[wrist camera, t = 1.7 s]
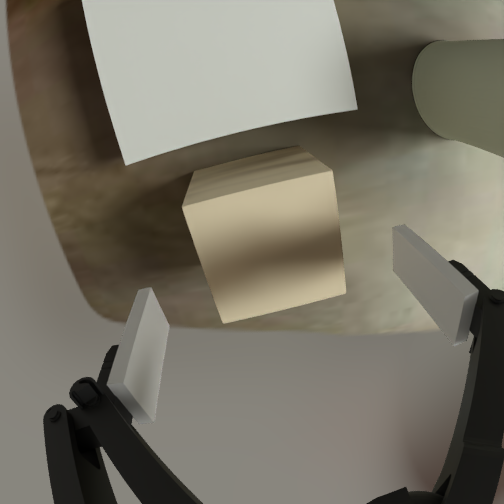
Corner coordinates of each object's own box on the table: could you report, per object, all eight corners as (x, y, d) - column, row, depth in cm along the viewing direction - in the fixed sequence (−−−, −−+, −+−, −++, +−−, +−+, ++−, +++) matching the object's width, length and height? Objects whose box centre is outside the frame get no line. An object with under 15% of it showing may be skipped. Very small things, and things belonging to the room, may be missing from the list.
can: (405, 129, 23) (510, 168, 12) (413, 26, 19) (520, 11, 8) (479, 148, 24) (574, 190, 13) (488, 59, 20) (586, 71, 9)
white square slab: (96, -17, 15) (76, -32, 12) (291, -64, 15) (303, -86, 11) (140, 153, 22) (125, 165, 19) (337, 106, 22) (357, 109, 18)
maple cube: (194, 170, 23) (181, 207, 16) (298, 145, 23) (332, 170, 16) (222, 261, 27) (223, 323, 20) (314, 238, 27) (346, 293, 20)
